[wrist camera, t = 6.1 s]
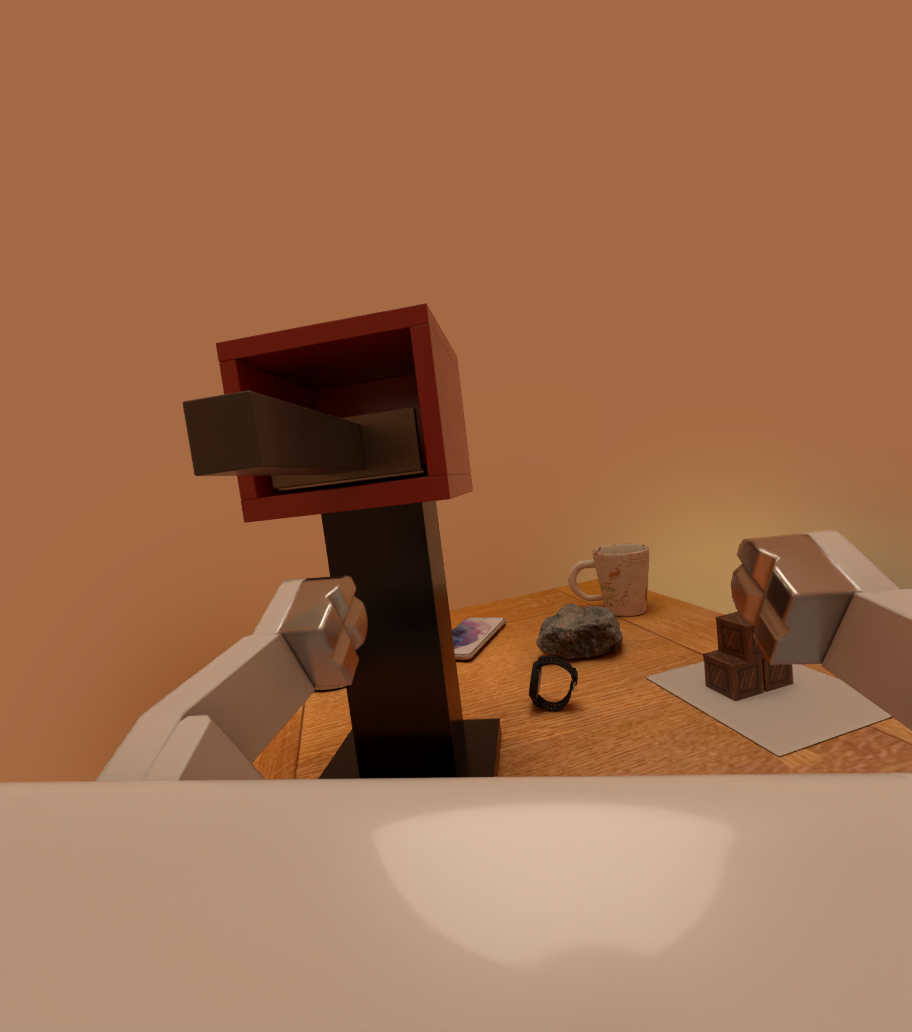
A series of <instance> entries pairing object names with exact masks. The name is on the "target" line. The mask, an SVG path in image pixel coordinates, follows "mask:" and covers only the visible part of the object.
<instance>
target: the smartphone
mask: <svg viewBox="0 0 912 1032" xmlns="http://www.w3.org/2000/svg"><path fill="white" fill-rule="evenodd" d="M505 623H506V619H505V618H466V619H465V620H464V621H463V622H462V623H460V624H459V625H458V626H457V627H456V628H454V629H453V630H452V636H453V644H454V652H455V659H456V660H469V659H471V658H472V657H473V656H474V655H475V654H476V653H477V652H478V651H479V650H480V649H481V648H482V647H483V646H484V644H485V643H486V642H487V641H488V640H489V639H490V638H491V637H492V636H493V635H494V634H495V633H496V632H497V631H498V630H499V629H500V628H501V627H502V626H503V625H504V624H505Z"/></svg>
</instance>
